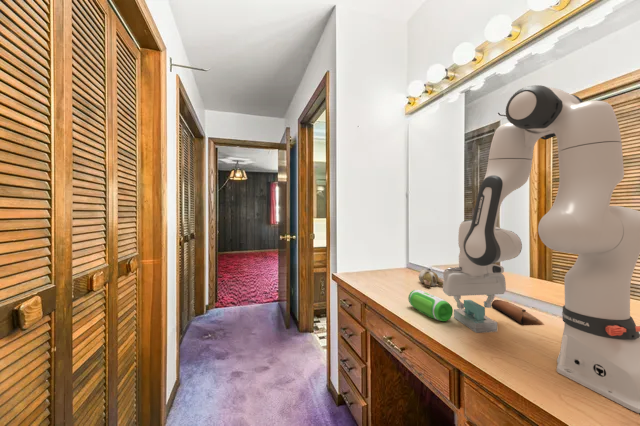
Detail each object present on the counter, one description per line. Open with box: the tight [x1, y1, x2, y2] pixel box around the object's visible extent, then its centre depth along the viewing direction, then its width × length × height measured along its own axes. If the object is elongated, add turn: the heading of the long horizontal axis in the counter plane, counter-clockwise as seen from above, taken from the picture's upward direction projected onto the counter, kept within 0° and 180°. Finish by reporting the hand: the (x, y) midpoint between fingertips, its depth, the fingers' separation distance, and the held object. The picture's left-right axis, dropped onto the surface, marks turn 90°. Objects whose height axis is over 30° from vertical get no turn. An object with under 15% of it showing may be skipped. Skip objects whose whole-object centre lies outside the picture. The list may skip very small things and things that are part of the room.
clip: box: [463, 299, 486, 321], centre depth 96 cm, size 8×2×7 cm, turn 3°
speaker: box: [407, 289, 454, 322], centre depth 106 cm, size 18×7×8 cm, turn 16°
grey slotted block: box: [453, 308, 498, 334], centre depth 96 cm, size 13×7×3 cm, turn 3°
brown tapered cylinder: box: [491, 299, 545, 326], centre depth 103 cm, size 18×7×7 cm
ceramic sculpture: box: [418, 268, 444, 288], centre depth 146 cm, size 11×9×15 cm
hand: (474, 307), depth 96 cm, fingers open, 8 cm apart
